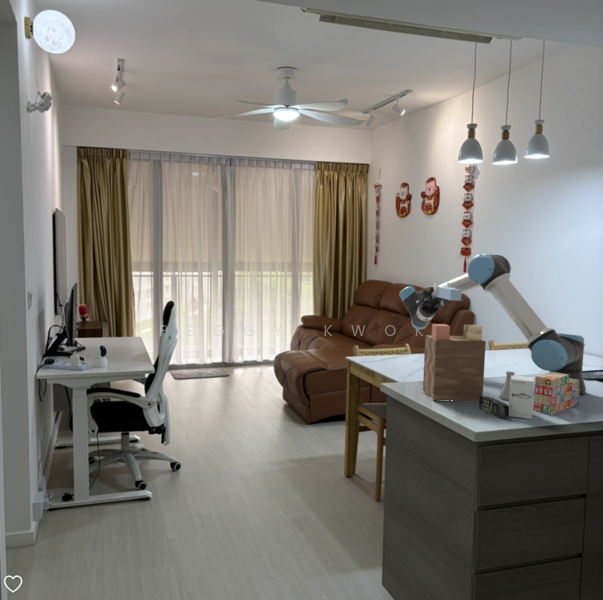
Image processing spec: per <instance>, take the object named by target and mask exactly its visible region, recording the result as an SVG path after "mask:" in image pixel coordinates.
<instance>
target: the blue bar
mask: <svg viewBox="0 0 603 600" xmlns="http://www.w3.org/2000/svg"><path fill="white" fill-rule="evenodd" d="M461 291H462V290H460V289H455V288H449V287H444V286H438V289H437V291H436V293H435V294H434V295H433V296H436V297H440V298H443V299H447V300H449V301H459V302H460V301H462V294H461Z"/></svg>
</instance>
